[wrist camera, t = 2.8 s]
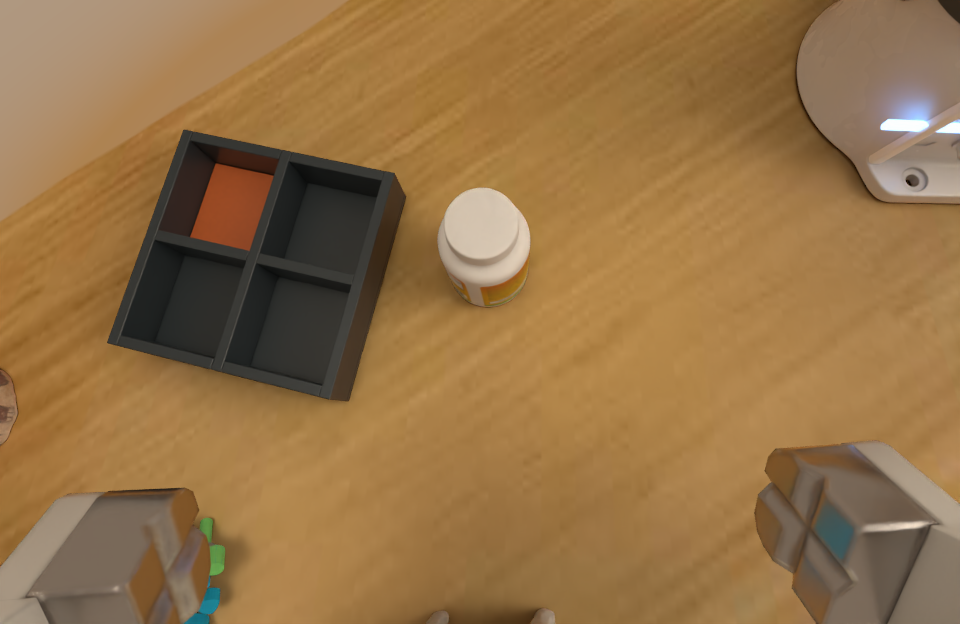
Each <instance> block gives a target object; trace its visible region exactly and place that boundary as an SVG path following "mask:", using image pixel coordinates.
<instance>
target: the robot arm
mask: <svg viewBox="0 0 960 624" xmlns="http://www.w3.org/2000/svg"><path fill="white" fill-rule="evenodd" d="M797 82H798V88H799V92H800V96H801V99H802V101H803V104H804V106H805V108H806V111H807V112H808V114H809V116H810V118H811V119H812V121H813V122H814V124H815V125H816V126H817V128H818V129H819V130H820V131H821V133H822V134H823V135H824V136H825V137H826V138H827V139H828V140H829V141H830V142H831V143H833V144H834V145H835V146H836V147H837V148H838V149H840V150H841V151H842V152H843V153H844V154H845V155H846V156H848V157H849V158H850V160H851V161H852V162H853V163H854V164H855V166H856V168H857V170H858V172H859V174H860V176H861V178H862V180H863V182H864V183H865V185H866V187H867V188H868V190H869V191H870V192H871V193H872V194H873V195H874V196H875V197H876V198H877V199H879V200H881V201H885V202H900V203H947V204H960V0H839V1H837V2H836V3H834V4H833V5H831V6H830V7H828V8H827V9H826V10H825V11H824V12H822V13H821V14H820V15H819V16H818V17H817V19H816V20H815V21H814V22H813V23H812V25H811V26H810V28H809V29H808V31H807V33H806V35H805V37H804V39H803V41H802V44H801V46H800V50H799V54H798V59H797ZM906 179H907V180H909V181H910V182H911V184H912V186H909V185H908V184H907V183H906ZM765 472H766V474H767V476H768V477H769V479H770V481H771V483H770V484H769V485H768V486H767V487H766V488H765V489H763V490H762V491H761V492H760V493H759V494H758V498H757V503H756V507H755V512H754V513H755V520H756V527H757V532H758V535H759V537H760V539H761V542H762V544H763V546H764V548H765V549H766V551H767V552H768V554H769V555H770V557H771V558H772V560H773V561H774V562H775V563H777V564H779V565H780V566H782V567H783V568H785V569H786V570H788V571H790V572H791V573H793V581H792V589H793V590H794V592H795V593H796V595H797V596H798V598H799V599H800V600H801V602H802V603H803V605H804V606H805V608H806V609H807V610H808V612H809V613H810V615H811V616H812V618H813V619H814V621H815V622H816V623H817V624H960V504H959V503H958V502H957V501H955V500H954V499H953V498H952V497H951V496H949V495H948V494H947V493H946V492H945V491H943V490H942V489H941V488H940V487H939V486H937V485H936V484H935V483H934V482H933V481H931V480H930V479H929V478H928V477H927V476H925V475H924V474H923V473H922V472H921V471H919V470H918V469H917V468H916V467H915V466H913V465H912V464H911V463H910V462H909V461H907V460H906V459H905V458H904V457H903V456H901V455H900V454H899V453H898V452H897V451H895V450H894V449H893V448H892V447H891V446H889V445H887V444H885V443H882V442H880V441H877V440H872V441H860V442H849V443H842V444H832V445H819V446H805V447H792V448H778V449H775V450H774V451H773V452H772V453H771V455H770V456H769V457H768V460H767V464H766V467H765ZM198 512H199V508H198V505H197V502H196V499H195V496H194V493H193V491H191V490H189V489H187V488H168V489H145V490H122V491H108V492H93V493H70V494H67V495H65V496H63V497H61V498H59V499H57V500H55V501H54V502H53V504H52V505H51V506H50V507H49V508H48V510H47V511H46V512H45V513H44V515H43V516H42V517H41V518H40V519H39V521H38V522H37V523H36V524H35V525H34V527H33V528H32V529H31V530H30V532H29V533H28V534H27V535H26V536H25V538H24V539H23V540H22V541H21V542H20V544H19V545H18V546H17V547H16V549H15V550H14V551H13V552H12V553H11V555H10V556H9V557H8V558H7V559H6V561H5V562H4V563H3V564H2V566H1V567H0V624H184V623H185V622H186V621H187V620H188V619H189V618H190V617H192V616H193V615H194V614H195V613H196V612H197V611H198V610H199V609H200V607H201V604H202V601H203V599H204V596H205V593H206V591H207V587H208V581H209V575H210V568H211V559H210V547H209V544H208V540H207V536H206V535H205V534H204V533H203V532H202V531H200V530H199V529H198V528H196V527H195V526H194V525H193V522H194V520H195V518H196V516H197V514H198Z"/></svg>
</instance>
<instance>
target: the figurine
mask: <svg viewBox="0 0 960 624" xmlns="http://www.w3.org/2000/svg"><path fill="white" fill-rule="evenodd" d="M17 414H18V411H17V406H16V395H15V393H14V385H13V383H12V381H11V378H10V376H9V375H8V374H7V373H6V372H5V371H3V370H1V369H0V445H1V444H2V443H3V442H4V441H6V440H7V438H8V436H9V433H10V430H11V427H12V425H13V423H14V422H15V420H16V417H17Z"/></svg>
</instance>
